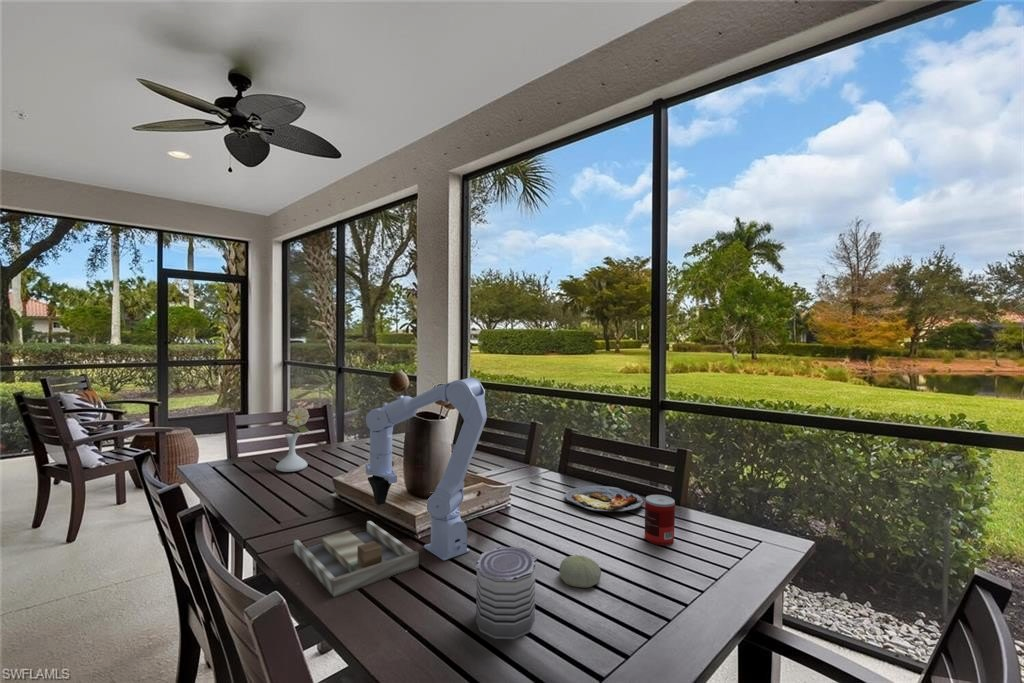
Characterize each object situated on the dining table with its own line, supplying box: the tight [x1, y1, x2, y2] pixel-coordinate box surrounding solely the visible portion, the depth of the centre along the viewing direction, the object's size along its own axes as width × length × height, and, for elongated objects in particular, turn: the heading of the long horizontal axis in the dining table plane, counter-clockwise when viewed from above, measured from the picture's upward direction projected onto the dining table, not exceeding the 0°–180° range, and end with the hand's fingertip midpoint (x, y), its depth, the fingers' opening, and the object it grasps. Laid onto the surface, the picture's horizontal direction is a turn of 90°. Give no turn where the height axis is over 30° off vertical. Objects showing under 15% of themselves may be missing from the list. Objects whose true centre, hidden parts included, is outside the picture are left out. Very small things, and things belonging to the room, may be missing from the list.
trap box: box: [293, 520, 420, 598], centre depth 115 cm, size 26×20×3 cm
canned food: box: [644, 494, 676, 546], centre depth 129 cm, size 8×8×11 cm
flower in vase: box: [275, 406, 310, 473], centre depth 187 cm, size 13×11×25 cm
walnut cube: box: [357, 541, 382, 568], centre depth 109 cm, size 4×4×4 cm
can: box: [474, 546, 538, 640], centre depth 91 cm, size 11×11×12 cm
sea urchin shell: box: [558, 554, 602, 589], centre depth 107 cm, size 9×8×8 cm
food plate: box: [564, 485, 645, 513], centre depth 157 cm, size 25×23×4 cm
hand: (380, 503), depth 127 cm, fingers closed
